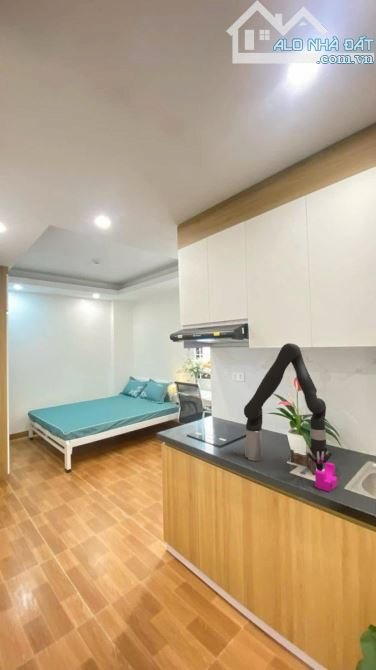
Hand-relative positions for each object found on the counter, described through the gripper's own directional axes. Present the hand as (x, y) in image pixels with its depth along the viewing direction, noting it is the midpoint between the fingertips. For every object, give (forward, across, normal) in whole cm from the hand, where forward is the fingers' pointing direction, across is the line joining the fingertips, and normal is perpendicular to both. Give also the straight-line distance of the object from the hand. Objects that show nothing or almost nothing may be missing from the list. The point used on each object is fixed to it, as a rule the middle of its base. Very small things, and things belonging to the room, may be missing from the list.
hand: (319, 470), depth 145 cm
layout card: (+1, +7, -3) cm, 8 cm away
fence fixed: (+1, +6, -10) cm, 12 cm away
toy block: (+2, +1, +11) cm, 11 cm away
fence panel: (+1, +3, -1) cm, 4 cm away
